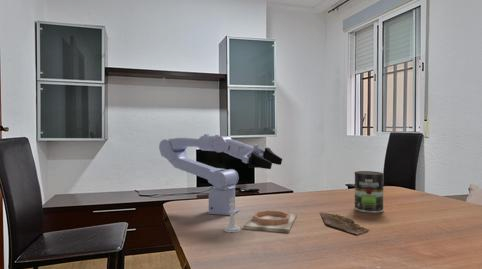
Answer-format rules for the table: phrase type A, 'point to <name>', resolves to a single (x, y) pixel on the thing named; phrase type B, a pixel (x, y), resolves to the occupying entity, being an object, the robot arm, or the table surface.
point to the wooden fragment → (343, 223)
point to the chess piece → (232, 219)
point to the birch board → (276, 228)
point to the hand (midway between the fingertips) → (276, 163)
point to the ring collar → (271, 221)
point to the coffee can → (369, 191)
